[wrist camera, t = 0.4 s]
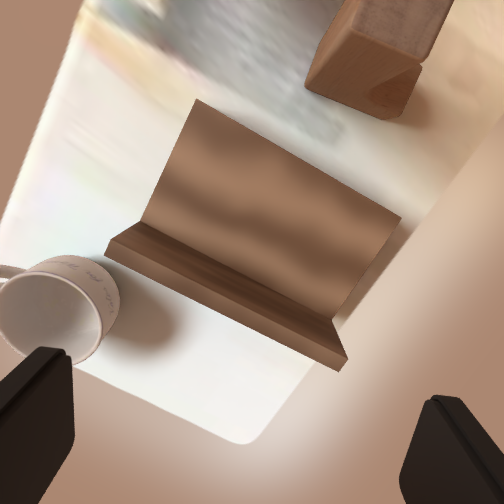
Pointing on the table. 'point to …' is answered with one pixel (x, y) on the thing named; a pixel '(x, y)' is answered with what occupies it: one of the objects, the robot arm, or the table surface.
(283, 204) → the walnut shelf
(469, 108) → the table surface
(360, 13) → the wooden block
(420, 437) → the robot arm
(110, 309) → the teacup
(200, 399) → the table surface
